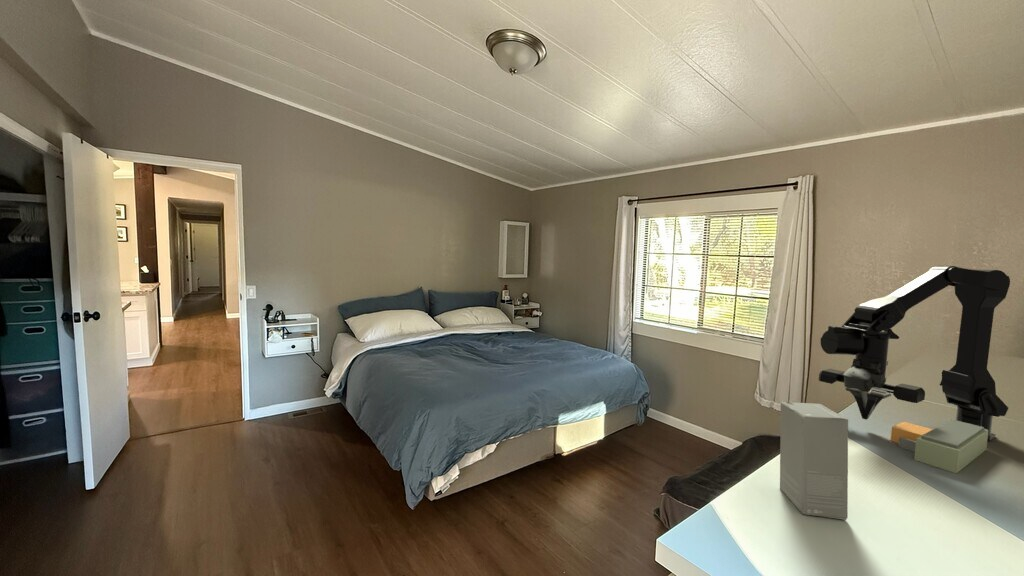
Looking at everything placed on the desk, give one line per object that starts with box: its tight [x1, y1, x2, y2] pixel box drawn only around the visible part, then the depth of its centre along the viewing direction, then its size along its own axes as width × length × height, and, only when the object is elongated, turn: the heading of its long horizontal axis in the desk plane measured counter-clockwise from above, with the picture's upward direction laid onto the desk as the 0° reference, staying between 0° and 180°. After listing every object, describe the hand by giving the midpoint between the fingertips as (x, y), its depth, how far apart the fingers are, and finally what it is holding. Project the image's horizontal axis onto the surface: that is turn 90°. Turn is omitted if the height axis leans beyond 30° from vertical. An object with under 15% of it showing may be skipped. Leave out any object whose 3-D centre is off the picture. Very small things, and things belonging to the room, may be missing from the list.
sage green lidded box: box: [897, 419, 988, 474], centre depth 88 cm, size 22×10×5 cm, turn 121°
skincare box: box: [779, 401, 849, 521], centre depth 66 cm, size 8×7×16 cm
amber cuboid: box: [890, 421, 934, 444], centre depth 92 cm, size 7×6×4 cm
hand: (865, 418), depth 99 cm, fingers closed
